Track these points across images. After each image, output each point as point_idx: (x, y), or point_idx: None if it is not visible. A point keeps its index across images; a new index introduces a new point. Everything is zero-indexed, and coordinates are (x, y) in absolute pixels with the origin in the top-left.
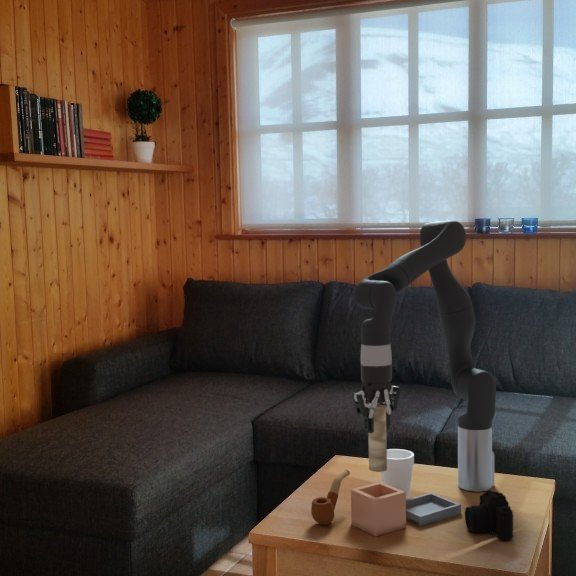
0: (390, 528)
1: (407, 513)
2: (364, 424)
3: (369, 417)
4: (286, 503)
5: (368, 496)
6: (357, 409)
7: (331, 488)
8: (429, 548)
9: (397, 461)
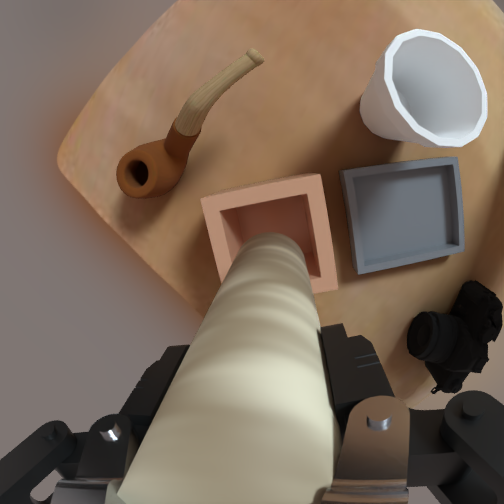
0: None
1: (351, 230)
2: (137, 386)
3: None
4: (145, 34)
5: (223, 275)
6: (26, 462)
7: (177, 121)
8: None
9: (418, 136)
